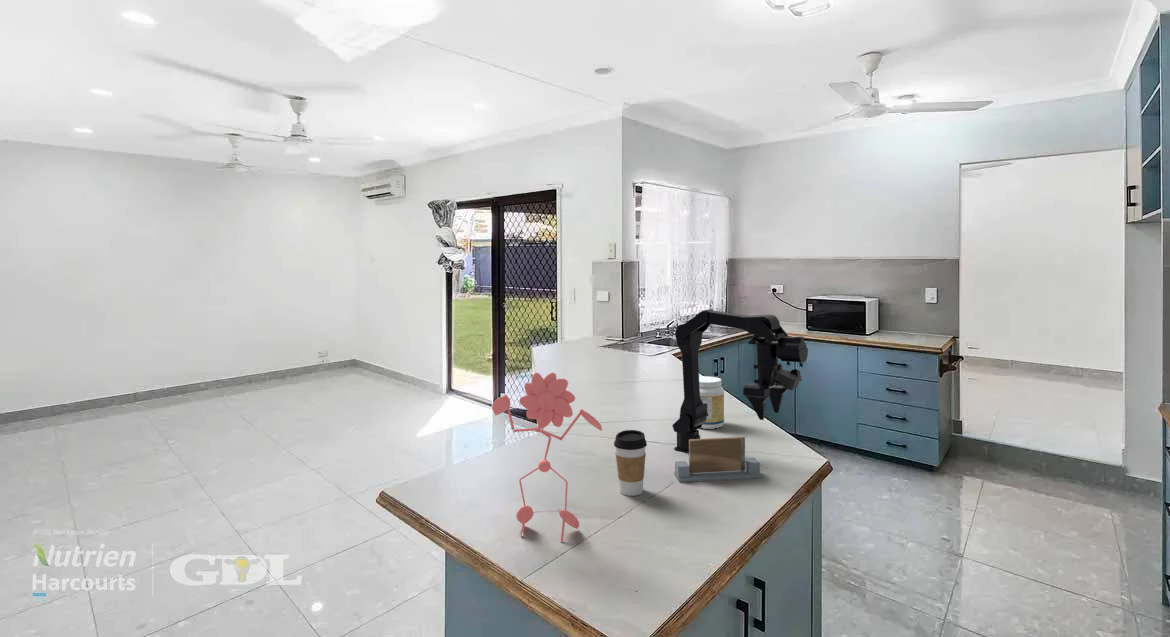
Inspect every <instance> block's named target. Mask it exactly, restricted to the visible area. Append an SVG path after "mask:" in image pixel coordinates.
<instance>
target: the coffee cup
mask: <svg viewBox="0 0 1170 637" xmlns="http://www.w3.org/2000/svg"><path fill="white" fill-rule="evenodd" d="M613 446H614V447H615V461H616V467H617V468H616V469H617V476H618V477H617V478H618V485H619V486H618V487H619V493H620V494H622V495H624V496H627V497H633V496H634V497H635V496H639V495H641V494H643V492H644V478H645V468H646V467H645V466H646V454H647V453H646V447H647V446H648V443H647V440H646V437H645V433H644V432H642V431H640V430H637V429H636V430H635V429H625V430H622V431H619V432H617V434H616V435H615V440H614V442H613Z"/></svg>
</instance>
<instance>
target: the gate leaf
mask: <svg viewBox="0 0 1170 637" xmlns="http://www.w3.org/2000/svg"><path fill="white" fill-rule="evenodd" d="M745 458H746V437H745V436H733V437H713V438H710V437H709V438H700V439H689V453H688V465H689V472H690V473H705V472H724V471H744V470H745Z"/></svg>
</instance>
